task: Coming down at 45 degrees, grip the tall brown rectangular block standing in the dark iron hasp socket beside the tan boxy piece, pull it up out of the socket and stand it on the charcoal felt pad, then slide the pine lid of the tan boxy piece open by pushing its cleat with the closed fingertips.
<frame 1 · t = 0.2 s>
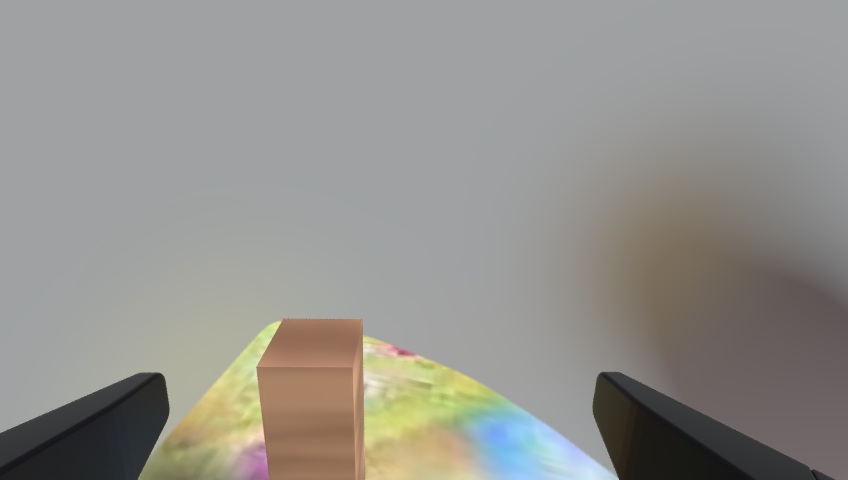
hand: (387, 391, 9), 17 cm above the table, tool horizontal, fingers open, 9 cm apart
brown rectangular block: (322, 463, 19), in the hasp socket
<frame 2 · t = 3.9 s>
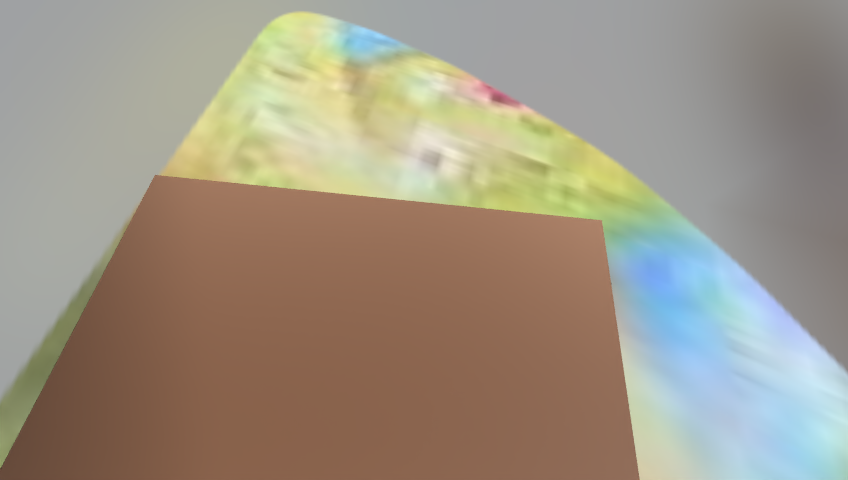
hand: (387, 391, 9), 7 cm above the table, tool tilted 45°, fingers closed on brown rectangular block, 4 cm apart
brown rectangular block: (381, 467, 8), in the hasp socket, touching gripper
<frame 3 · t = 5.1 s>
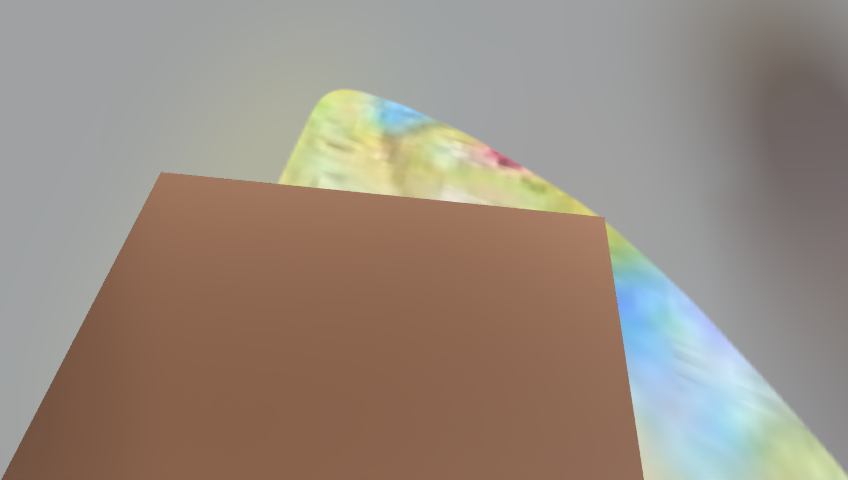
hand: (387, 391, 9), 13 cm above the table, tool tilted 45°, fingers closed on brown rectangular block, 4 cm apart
brown rectangular block: (383, 465, 8), point 13 cm above the table, touching gripper
when the fingers open (8 cm above the table, at t = 6.6 s): brown rectangular block moves 1 cm, resting on felt pad.
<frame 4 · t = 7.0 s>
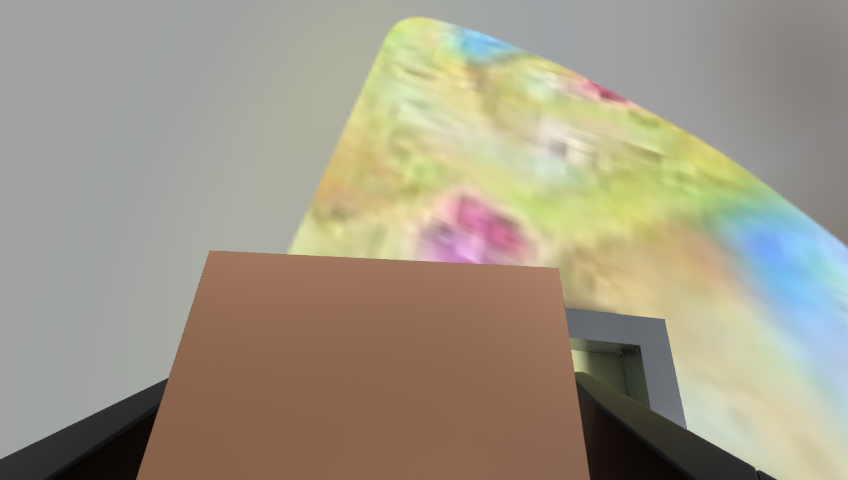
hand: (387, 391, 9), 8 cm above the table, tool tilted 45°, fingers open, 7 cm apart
brown rectangular block: (387, 467, 9), on the felt pad
hasp socket: (576, 403, 16), on the table
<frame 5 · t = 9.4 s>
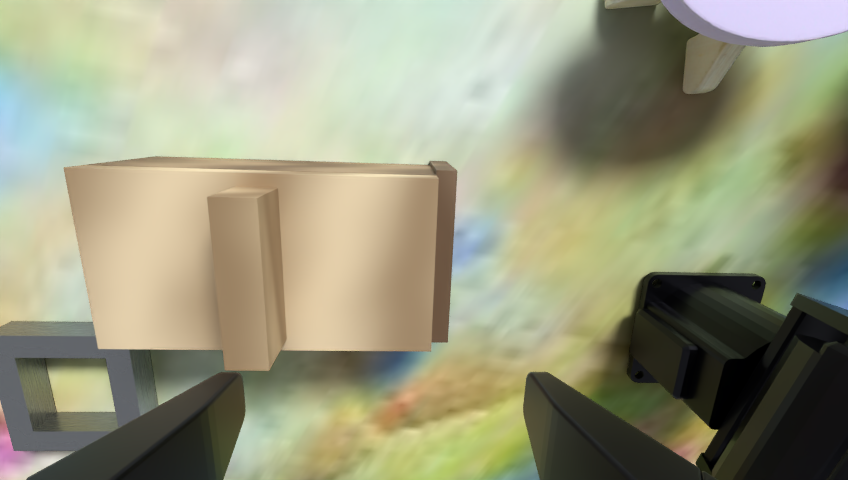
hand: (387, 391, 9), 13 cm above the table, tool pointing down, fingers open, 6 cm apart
lid: (256, 272, 15), point 6 cm above the table, slide at 0.0 cm
tan boxy piece: (298, 231, 21), on the table
hasp socket: (90, 378, 22), on the table
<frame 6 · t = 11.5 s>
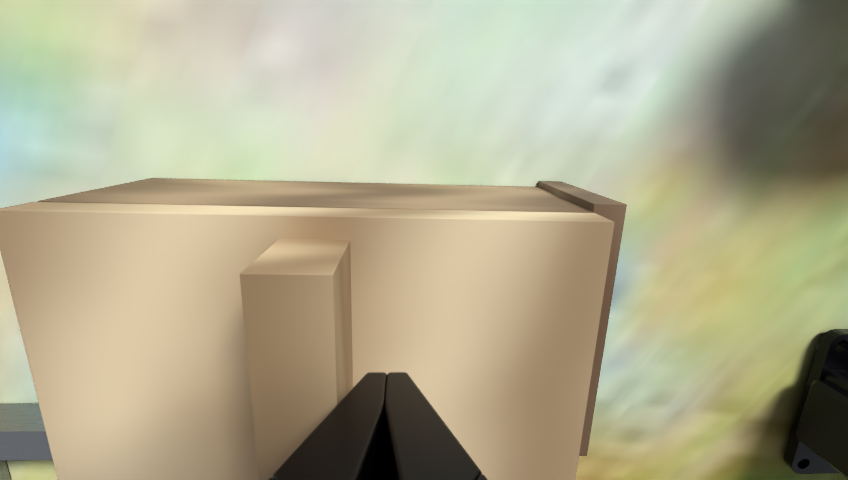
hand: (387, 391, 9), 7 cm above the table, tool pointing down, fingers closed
lid: (314, 378, 9), point 6 cm above the table, slide at 0.0 cm, touching gripper
tan boxy piece: (350, 279, 15), on the table
hasp socket: (65, 475, 17), on the table
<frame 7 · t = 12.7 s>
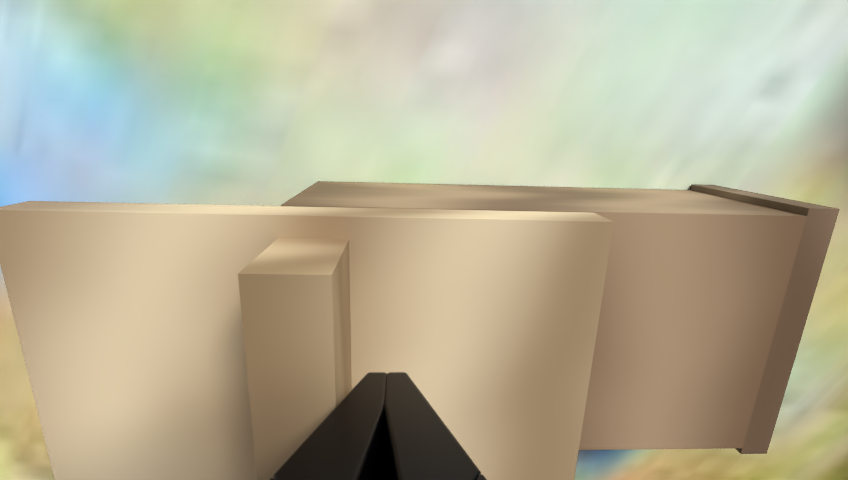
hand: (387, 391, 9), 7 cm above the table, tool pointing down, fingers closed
lid: (313, 378, 9), point 6 cm above the table, slide at 5.5 cm, touching gripper
tan boxy piece: (500, 281, 15), on the table
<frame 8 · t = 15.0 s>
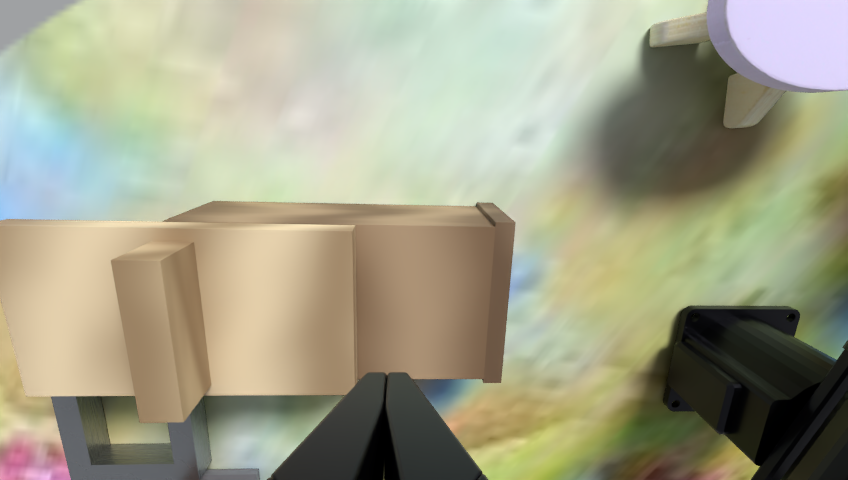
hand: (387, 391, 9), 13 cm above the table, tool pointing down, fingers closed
lid: (174, 324, 15), point 6 cm above the table, slide at 5.6 cm
tan boxy piece: (348, 270, 22), on the table
toy table: (734, 28, 20), on the table
hasp socket: (143, 411, 23), on the table
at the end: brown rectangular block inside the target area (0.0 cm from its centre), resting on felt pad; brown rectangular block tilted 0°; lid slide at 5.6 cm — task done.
